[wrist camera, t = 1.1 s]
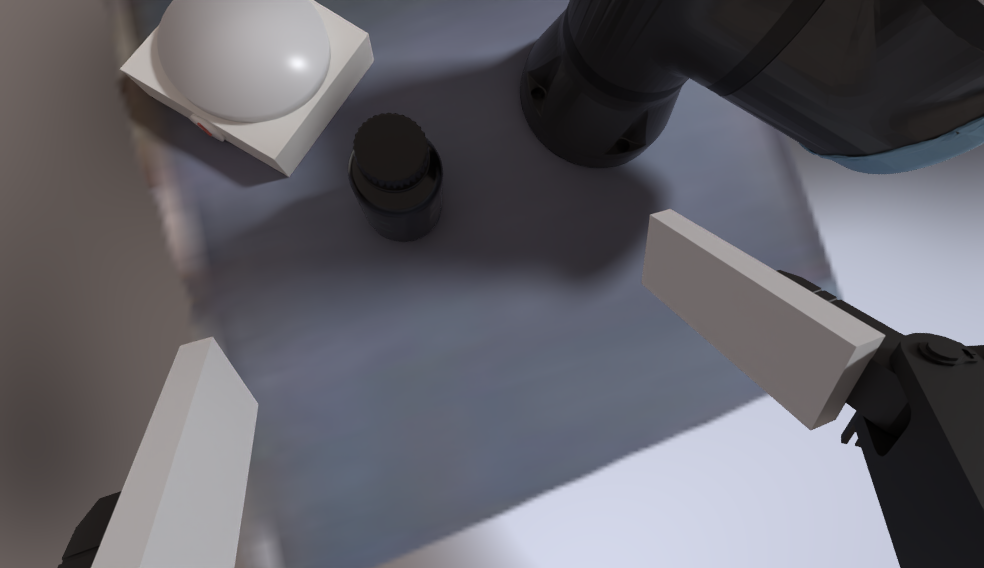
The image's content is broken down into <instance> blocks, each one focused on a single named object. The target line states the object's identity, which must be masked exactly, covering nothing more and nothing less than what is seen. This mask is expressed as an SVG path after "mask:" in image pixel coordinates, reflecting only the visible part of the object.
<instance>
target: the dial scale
mask: <svg viewBox="0 0 984 568" xmlns="http://www.w3.org/2000/svg"><path fill="white" fill-rule="evenodd" d="M373 62H374V58H373V53H372V48H371V44H370V39H369V34H368V33H366V32H365V31H363V30H361V29H360V28H358V27H356V26H355V25H353V24H352V23H350V22H348V21H347V20H345V19H343V18H342V17H340V16H338V15H337V14H335V13H333V12H332V11H330V10H329V9H327V8H325V7H324V6H322V5H320V4H319V3H317V2H315V1H314V0H173V1H172V3H171V4H170V5H169V6H168V8H167V10H166V11H165V13H164V15H163V17H162V20H161V22H160V24H159V25H158V27H157V28H156V29H155V30H154V31H153V32H152V33H151V35H150V36H149V37H148V38H147V39H146V40H145V41H144V42H143V44H142V45H141V46H140V47H139V48H138V49H137V50H136V52H135V53H134V54H133V55H132V56H131V57H130V58H129V59H128V61H127V62H126V63H125V64H124V65H123V66H122V67H121V68H120V70H122V71H123V72H124V73H125V74H126V75H127V76H128V77H129V78H131V79H132V80H133V81H134V82H135V83H136V84H137V85H138V86H140V87H141V88H142V89H143V90H144V91H145V92H146V93H147V94H149V95H150V96H151V97H153V98H155V99H157V100H158V101H160V102H162V103H163V104H165V105H167V106H169V107H170V108H172V109H174V110H175V111H177V112H179V113H180V114H182V115H184V116H186V117H187V118H189V119H190V120H191V121H192V122H193V123H194V124H196V125H197V126H198V127H199V128H201V129H202V130H203V131H205V132H206V133H207V134H208V135H209V136H212V137H214V138H216V139H218V140H220V141H222V142H223V141H224V140H227V141H228V142H230V143H232V144H233V145H235V146H237V147H238V148H240V149H242V150H244V151H245V152H247V153H249V154H250V155H252V156H254V157H256V158H257V159H259V160H261V161H262V162H264V163H266V164H268V165H269V166H271V167H273V168H274V169H276V170H278V171H279V172H281V173H283V174H285V175H286V176H288V177H290V176H291V174H292V173H293V172H294V170H295V169H296V167H297V166H298V165H299V163H300V162H301V161H302V159H303V158H304V156H305V155H306V154H307V152H308V151H309V150H310V148H311V147H312V145H313V144H314V143H315V141H316V140H317V139H318V137H319V136H320V135H321V133H322V132H323V130H324V129H325V128H326V126H327V125H328V124H329V122H330V121H331V119H332V118H333V117H334V115H335V114H336V113H337V111H338V110H339V108H340V107H341V106H342V104H343V103H344V102H345V100H346V99H347V98H348V96H349V95H350V93H351V92H352V91H353V89H354V88H355V87H356V85H357V84H358V82H359V81H360V80H361V78H362V77H363V76H364V74H365V73H366V71H367V70H368V69H369V67H370V66H371V65H372V63H373Z"/></svg>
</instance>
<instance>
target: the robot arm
mask: <svg viewBox="0 0 984 568" xmlns="http://www.w3.org/2000/svg"><path fill="white" fill-rule="evenodd" d="M689 78H690V79H692V80H694V81H695V82H697V83H699V84H700V85H702V86H704V87H706V88H708V89H710V90H711V91H713V92H715V93H716V94H718V95H719V96H721V97H722V98H724V99H726V100H728V101H729V102H731V103H733V104H734V105H736V106H738V107H739V108H741V109H743V110H745V111H746V112H748V113H750V114H751V115H753V116H755V117H756V118H758V119H760V120H762V121H763V122H765V123H767V124H768V125H770V126H772V127H773V128H775V129H777V130H779V131H780V132H782V133H784V134H785V135H787V136H789V137H790V138H792V139H794V140H796V141H797V142H799V144H800V145H801V146H802V147H803V148H804V149H806V150H807V151H809V152H810V153H812V154H814V155H818V156H820V157H821V158H826V159H830V160H832V161H834V162H836V163H838V164H840V165H842V166H844V167H846V168H848V169H851V170H854V171H857V172H862V173H868V174H894V173H901V172H908V171H912V170H917V169H920V168H924V167H927V166H931V165H934V164H937V163H940V162H943V161H946V160H948V159H951V158H953V157H956V156H958V155H960V154H963V153H965V152H967V151H969V150H971V149H973V148H975V147H977V146H979V145H981V144H983V143H984V0H570V2H569V4H568V7H567V9H566V10H565V11H564V12H563V13H562V14H561V15H560V16H559V17H558V18H557V19H556V20H555V21H554V22H553V24H552V25H551V26H550V27H549V28H548V29H547V30H546V31H545V32H544V33H543V34H542V35H541V36H540V38H539V39H538V40H537V42H536V43H535V45H534V46H533V48H532V50H531V52H530V54H529V56H528V59H527V62H526V65H525V68H524V71H523V74H522V79H521V86H520V96H521V103H522V108H523V111H524V114H525V117H526V119H527V121H528V123H529V125H530V127H531V129H532V130H533V132H534V133H535V135H536V136H537V137H538V138H539V140H540V141H541V142H542V143H543V144H544V145H545V146H546V147H548V148H549V149H550V150H551V151H553V152H554V153H555V154H557V155H558V156H560V157H562V158H564V159H566V160H568V161H570V162H573V163H575V164H578V165H582V166H587V167H595V168H604V167H613V166H617V165H621V164H624V163H626V162H628V161H630V160H632V159H634V158H636V157H637V156H638V155H640V154H641V153H642V152H643V151H644V150H646V149H647V148H648V147H649V146H650V145H651V144H652V143H653V142H654V141H655V140H656V139H657V138H658V136H659V135H660V134H661V132H662V131H663V129H664V128H665V126H666V124H667V122H668V120H669V117H670V115H671V112H672V110H673V107H674V105H675V102H676V100H677V97H678V95H679V92H680V90H681V87H682V85H683V84H684V83H685V82H686V81H687V80H688V79H689ZM642 284H643V285H644V286H645V287H646V288H647V289H649V290H650V291H651V292H652V293H653V294H654V295H655V296H657V297H658V298H659V299H660V300H661V301H662V302H663V303H665V304H666V305H667V306H668V307H669V308H670V309H671V310H673V311H674V312H675V313H676V314H677V315H678V316H680V317H681V318H682V319H683V320H684V321H685V322H686V323H688V324H689V325H690V326H691V327H692V328H693V329H694V330H696V331H697V332H698V333H699V334H700V335H701V336H703V337H704V338H705V339H706V340H707V341H708V342H709V343H711V344H712V345H713V346H714V347H715V348H716V349H717V350H719V351H720V352H721V353H722V354H723V355H724V356H725V357H727V358H728V359H729V360H730V361H731V362H732V363H734V364H735V365H736V366H737V367H738V368H739V369H740V370H742V371H743V372H744V373H745V374H746V375H747V376H748V377H750V378H751V379H752V380H753V381H754V382H755V383H757V384H758V385H759V386H760V387H761V388H762V389H763V390H765V391H766V392H767V393H768V394H769V395H770V396H771V397H773V398H774V399H775V400H776V401H777V402H778V403H779V404H781V405H782V406H783V407H784V408H785V409H786V410H788V411H789V412H790V413H791V414H792V415H793V416H794V417H796V418H797V419H798V420H799V421H800V422H801V423H802V424H804V425H805V426H806V427H807V428H808V429H809V430H813V429H815V428H818V427H820V426H822V425H824V424H827V423H829V422H831V421H833V420H836V418H837V416H838V415H839V413H840V411H841V410H842V408H843V406H844V405H845V403H847V404H848V405H850V406H851V407H852V408H854V409H855V410H856V413H855V414H854V416H853V417H852V419H851V420H850V422H849V424H848V425H847V427H846V428H845V430H844V432H843V433H842V435H841V443H844V444H847V443H848V442H849V440H850V438H851V437H852V435H853V434H854V432H856V433H857V436H858V440H857V441H856V443H855V446H859V447H861V448H862V451H863V454H864V457H865V460H866V463H867V466H868V470H869V473H870V475H871V479H872V482H873V485H874V488H875V491H876V494H877V497H878V500H879V503H880V506H881V509H882V512H883V515H884V519H885V521H886V525H887V528H888V531H889V534H890V537H891V540H892V543H893V546H894V549H895V552H896V556H897V559H898V562H899V565H900V567H901V568H984V345H978V346H964V345H963V344H962V343H959V342H956V341H954V340H952V339H949V338H946V337H943V336H939V335H934V334H930V333H913V334H909V335H903V334H901V333H899V332H897V331H895V330H893V329H892V328H890V327H888V326H886V325H885V324H883V323H881V322H879V321H877V320H876V319H874V318H872V317H871V316H869V315H867V314H865V313H864V312H862V311H860V310H858V309H857V308H854V307H853V306H851V305H849V304H848V303H846V302H844V301H842V300H837V297H835V296H834V295H832V294H830V293H828V292H827V291H822V290H821V288H820V287H818V286H816V285H814V284H813V283H811V282H809V281H807V280H806V279H804V278H802V277H799V276H796V275H793V274H790V273H787V272H784V271H781V270H778V271H775V270H773V269H772V268H770V267H768V266H767V265H765V264H763V263H761V262H760V261H758V260H756V259H755V258H753V257H751V256H750V255H748V254H746V253H744V252H743V251H741V250H739V249H738V248H736V247H734V246H733V245H731V244H729V243H727V242H726V241H724V240H722V239H721V238H719V237H717V236H715V235H714V234H712V233H710V232H709V231H707V230H705V229H704V228H702V227H700V226H698V225H697V224H695V223H693V222H692V221H690V220H688V219H687V218H685V217H683V216H681V215H680V214H678V213H676V212H675V211H673V210H671V209H668V210H665V211H661V212H657V213H654V214H650V218H649V227H648V235H647V243H646V251H645V259H644V268H643V276H642ZM257 411H258V403H257V402H256V400H255V399H254V397H253V396H252V394H251V393H250V391H249V390H248V388H247V387H246V385H245V384H244V382H243V381H242V379H241V378H240V376H239V375H238V374H237V372H236V371H235V369H234V368H233V366H232V365H231V363H230V362H229V360H228V359H227V357H226V356H225V354H224V353H223V351H222V350H221V348H220V347H219V345H218V344H217V342H216V341H215V339H214V338H213V337H209V338H205V339H202V340H198V341H195V342H191V343H188V344H184V345H180V347H179V350H178V353H177V355H176V357H175V360H174V362H173V365H172V367H171V370H170V372H169V375H168V377H167V380H166V382H165V385H164V387H163V390H162V392H161V395H160V398H159V400H158V402H157V405H156V407H155V410H154V412H153V415H152V417H151V420H150V422H149V425H148V427H147V430H146V432H145V435H144V437H143V440H142V442H141V445H140V447H139V449H138V452H137V455H136V457H135V460H134V462H133V464H132V467H131V470H130V472H129V475H128V477H127V480H126V482H125V484H124V487H123V489H122V491H121V492H118V493H115V494H112V495H109V496H106V497H103V498H100V499H99V500H98V501H97V502H96V503H95V505H94V506H93V507H92V509H91V510H90V511H89V512H88V514H87V515H86V516H85V518H84V519H83V520H82V521H81V522H80V524H79V525H78V526H77V527H76V529H75V531H74V534H73V535H72V538H71V540H70V542H69V544H68V546H67V548H66V551H65V553H64V555H63V557H62V560H63V562H62V564H60V565H59V566H58V568H234V566H235V559H236V552H237V545H238V539H239V532H240V525H241V519H242V512H243V505H244V498H245V492H246V485H247V478H248V471H249V465H250V458H251V451H252V444H253V438H254V431H255V424H256V418H257Z"/></svg>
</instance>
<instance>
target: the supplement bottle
mask: <svg viewBox="0 0 984 568" xmlns="http://www.w3.org/2000/svg"><path fill="white" fill-rule="evenodd" d="M348 176H349V181H350V184H351V187H352V189H353V192H354V194H355V196H356V198H357V199H358V201H359V203H360V205H361V207H362V209H363V211H364V213H365V215H366V217H367V219H368V221H369V222H370V224H371V225H372V227H373V228H374V229H375V230H376V231H377V232H378V233H379V234H381V235H382V236H384V237H386V238H388V239H391V240H394V241H399V242H408V241H414V240H417V239H419V238H421V237H423V236H425V235H426V234H428V233H429V232H430V231H431V230H432V229H433V228H434V226H435V225H436V223H437V221H438V219H439V216H440V212H441V204H442V186H443V168H442V162H441V159H440V156H439V154H438V152H437V150H436V148H435V147H434V146H433V144H432V143H431V142H430V141H429V140H428V139H427V138H426V137H425V133H424V132H423V131H422V130H421V127H419V126H418V125H417V124H416V122H414V121H412V120H411V119H410V118H407V117H405V116H404V115H398V114H396V113H395V114H391V113H387V114H380V115H375V116H373V117H372V118H369V119H368V120H367V121H366V122H364V123H363V124H362V126H361V127H360V128H359V129H358V132H357V133H356V135H355V139H354V147H353V151H352V153H351V155H350V159H349V163H348Z"/></svg>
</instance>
